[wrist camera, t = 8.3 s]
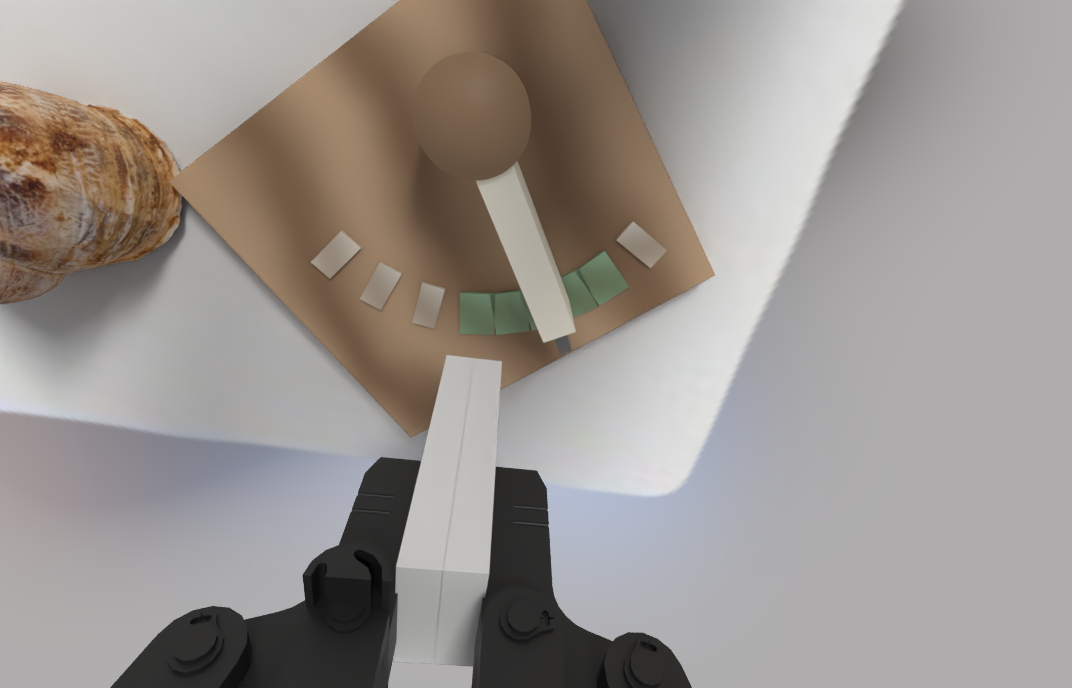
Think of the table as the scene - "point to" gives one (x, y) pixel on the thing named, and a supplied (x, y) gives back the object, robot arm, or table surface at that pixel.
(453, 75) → the lever
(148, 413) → the table surface
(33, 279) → the seashell
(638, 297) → the dial board
